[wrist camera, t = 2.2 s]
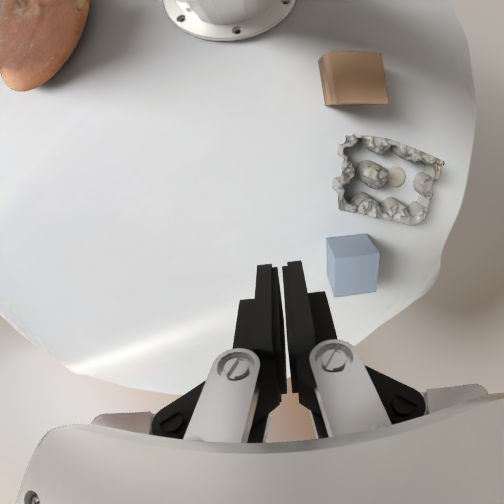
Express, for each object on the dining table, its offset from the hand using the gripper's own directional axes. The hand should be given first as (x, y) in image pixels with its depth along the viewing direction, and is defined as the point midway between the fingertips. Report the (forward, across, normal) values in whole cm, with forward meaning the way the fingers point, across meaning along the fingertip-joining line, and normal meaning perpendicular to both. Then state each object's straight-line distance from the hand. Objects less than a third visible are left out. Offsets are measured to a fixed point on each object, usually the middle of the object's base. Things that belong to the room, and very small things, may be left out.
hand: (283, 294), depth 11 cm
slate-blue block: (+17, -7, +8) cm, 20 cm away
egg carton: (+18, -11, 0) cm, 21 cm away
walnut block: (+17, -8, -10) cm, 21 cm away
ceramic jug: (+17, +23, -25) cm, 38 cm away
